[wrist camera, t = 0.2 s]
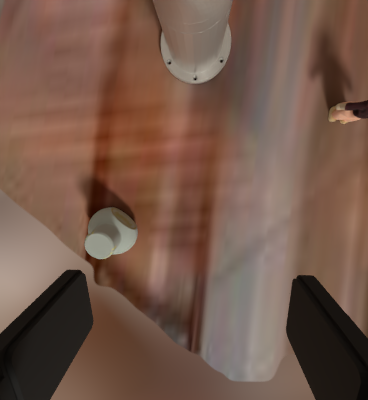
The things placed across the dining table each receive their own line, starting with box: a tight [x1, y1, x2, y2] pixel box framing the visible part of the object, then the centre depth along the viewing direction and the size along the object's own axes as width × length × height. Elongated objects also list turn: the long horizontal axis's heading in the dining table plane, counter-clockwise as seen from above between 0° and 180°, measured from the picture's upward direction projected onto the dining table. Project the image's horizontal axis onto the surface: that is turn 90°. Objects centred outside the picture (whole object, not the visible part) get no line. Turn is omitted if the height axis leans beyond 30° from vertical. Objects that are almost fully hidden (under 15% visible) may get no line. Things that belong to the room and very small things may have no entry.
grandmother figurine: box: [328, 100, 368, 124], centre depth 33 cm, size 8×4×13 cm, turn 88°
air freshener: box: [84, 207, 138, 259], centre depth 44 cm, size 11×8×10 cm
